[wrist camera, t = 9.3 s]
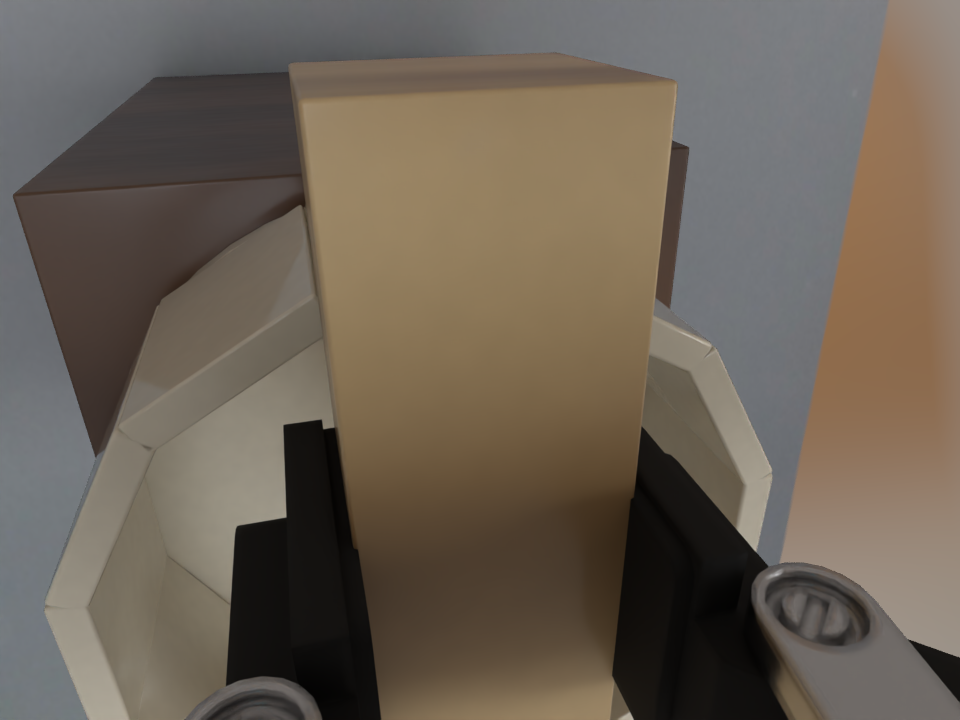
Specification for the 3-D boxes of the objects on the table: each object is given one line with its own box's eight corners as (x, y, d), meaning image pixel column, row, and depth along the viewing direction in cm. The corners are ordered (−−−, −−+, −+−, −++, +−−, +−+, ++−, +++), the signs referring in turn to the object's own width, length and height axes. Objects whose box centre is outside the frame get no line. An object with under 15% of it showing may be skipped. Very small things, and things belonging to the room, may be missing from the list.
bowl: (42, 215, 13) (-73, 332, 8) (671, 166, 15) (826, 238, 11) (183, 682, 18) (157, 894, 14) (624, 588, 21) (715, 743, 17)
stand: (153, 77, 28) (10, 193, 12) (478, 64, 31) (690, 146, 15) (214, 371, 34) (170, 696, 18) (481, 338, 37) (636, 595, 21)
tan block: (287, 61, 8) (297, 99, 5) (558, 52, 9) (680, 80, 6) (396, 915, 16) (420, 1088, 14) (531, 875, 17) (577, 1033, 14)
